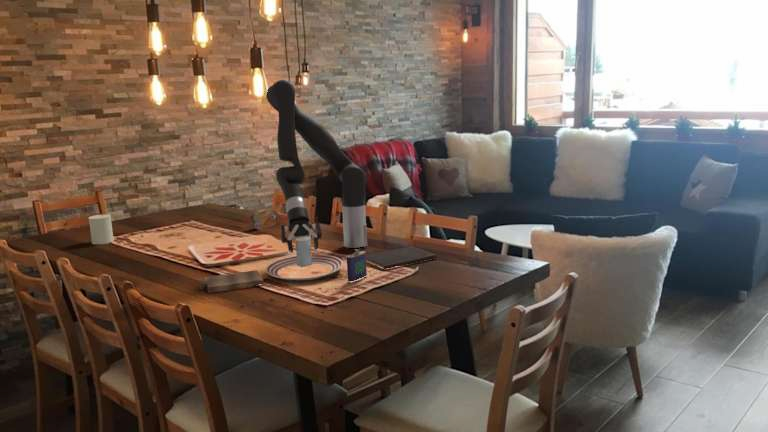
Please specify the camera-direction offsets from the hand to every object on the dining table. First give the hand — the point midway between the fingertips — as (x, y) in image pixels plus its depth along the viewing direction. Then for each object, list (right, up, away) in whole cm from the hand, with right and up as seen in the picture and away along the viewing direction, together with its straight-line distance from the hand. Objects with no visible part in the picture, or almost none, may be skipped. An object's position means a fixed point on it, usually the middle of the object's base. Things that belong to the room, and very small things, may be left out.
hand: (304, 250), depth 228 cm
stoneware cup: (0, -5, +3) cm, 6 cm away
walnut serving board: (-24, -11, -7) cm, 28 cm away
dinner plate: (0, -9, +3) cm, 9 cm away
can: (-97, 0, +60) cm, 114 cm away
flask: (+19, -10, -7) cm, 23 cm away
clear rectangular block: (-28, +6, +76) cm, 81 cm away
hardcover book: (+34, -5, +15) cm, 37 cm away
